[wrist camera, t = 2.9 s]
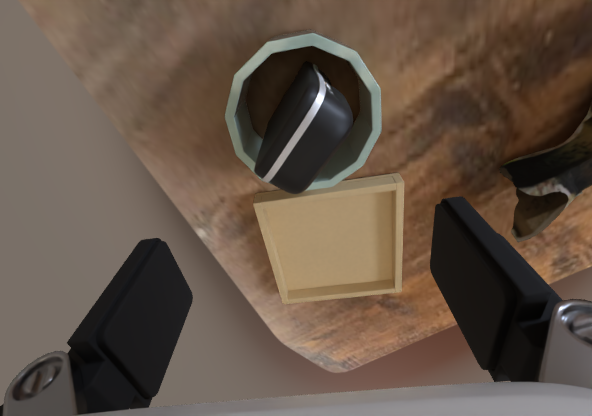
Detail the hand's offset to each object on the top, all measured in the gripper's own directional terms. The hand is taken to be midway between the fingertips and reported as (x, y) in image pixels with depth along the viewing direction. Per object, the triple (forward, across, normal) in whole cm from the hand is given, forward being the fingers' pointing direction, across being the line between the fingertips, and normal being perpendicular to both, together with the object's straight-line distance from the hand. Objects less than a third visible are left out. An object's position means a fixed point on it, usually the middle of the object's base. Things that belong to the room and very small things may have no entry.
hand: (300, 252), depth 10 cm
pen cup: (+20, 0, 0) cm, 20 cm away
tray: (+20, -1, +16) cm, 25 cm away
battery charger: (+20, 0, 0) cm, 20 cm away
